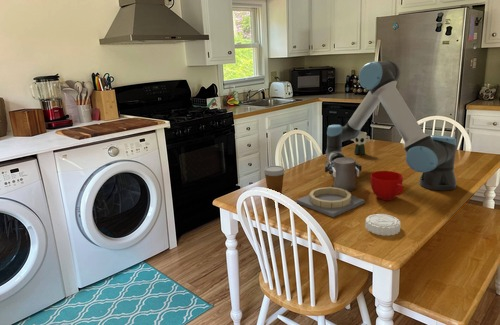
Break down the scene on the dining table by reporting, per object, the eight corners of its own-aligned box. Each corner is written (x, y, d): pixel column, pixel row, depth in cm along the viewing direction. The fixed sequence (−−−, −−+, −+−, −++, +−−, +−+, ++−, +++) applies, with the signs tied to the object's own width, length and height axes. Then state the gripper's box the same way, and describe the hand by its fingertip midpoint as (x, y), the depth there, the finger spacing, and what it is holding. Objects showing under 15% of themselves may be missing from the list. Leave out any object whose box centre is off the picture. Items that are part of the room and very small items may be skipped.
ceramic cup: (387, 208, 153) (388, 185, 151) (363, 194, 169) (364, 173, 166) (414, 203, 157) (416, 180, 154) (388, 190, 172) (390, 169, 170)
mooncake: (392, 220, 144) (393, 211, 143) (405, 235, 132) (406, 225, 131) (360, 222, 143) (361, 213, 142) (371, 237, 132) (372, 227, 131)
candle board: (364, 203, 160) (364, 194, 158) (332, 217, 148) (332, 207, 147) (327, 191, 175) (327, 182, 174) (296, 202, 163) (296, 194, 162)
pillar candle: (353, 184, 181) (353, 154, 177) (356, 192, 172) (357, 160, 168) (332, 185, 182) (332, 154, 178) (334, 192, 173) (334, 160, 169)
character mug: (349, 154, 231) (350, 133, 227) (351, 151, 237) (352, 131, 233) (368, 156, 226) (369, 134, 223) (369, 152, 233) (370, 132, 229)
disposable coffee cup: (284, 197, 170) (283, 171, 167) (262, 196, 172) (262, 171, 168) (286, 189, 179) (285, 165, 175) (266, 189, 181) (265, 165, 177)
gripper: (359, 166, 193) (371, 181, 171) (315, 167, 194) (321, 182, 172) (360, 152, 190) (372, 165, 169) (315, 153, 191) (321, 166, 170)
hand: (346, 173), depth 171 cm, fingers closed on pillar candle, 9 cm apart
